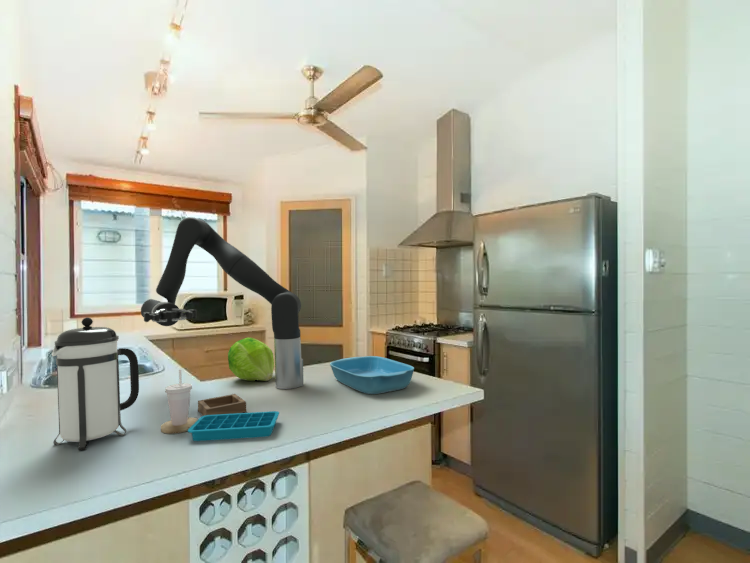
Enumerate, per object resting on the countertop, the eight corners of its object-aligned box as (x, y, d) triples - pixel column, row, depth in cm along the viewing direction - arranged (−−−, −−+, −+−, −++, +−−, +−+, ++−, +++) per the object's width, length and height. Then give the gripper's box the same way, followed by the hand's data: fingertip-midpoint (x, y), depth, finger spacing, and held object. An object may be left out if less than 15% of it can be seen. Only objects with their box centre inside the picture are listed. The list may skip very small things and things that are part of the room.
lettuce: (242, 392, 144) (269, 356, 145) (209, 359, 152) (234, 325, 154) (268, 395, 159) (292, 362, 161) (237, 365, 168) (260, 334, 169)
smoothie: (182, 428, 103) (181, 372, 103) (160, 426, 105) (158, 372, 104) (198, 419, 110) (196, 367, 109) (177, 418, 111) (175, 367, 111)
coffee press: (121, 446, 95) (116, 318, 95) (39, 456, 91) (34, 322, 91) (140, 421, 112) (137, 312, 112) (72, 429, 108) (68, 315, 107)
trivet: (198, 418, 113) (198, 415, 113) (199, 429, 105) (199, 425, 105) (161, 424, 109) (161, 421, 109) (160, 436, 101) (160, 432, 101)
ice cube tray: (202, 426, 108) (202, 415, 108) (280, 421, 110) (279, 410, 110) (186, 444, 96) (186, 431, 96) (273, 438, 98) (273, 426, 98)
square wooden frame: (198, 410, 120) (197, 400, 120) (235, 403, 126) (234, 393, 126) (207, 420, 111) (206, 409, 111) (246, 412, 118) (246, 401, 118)
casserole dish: (322, 378, 157) (321, 359, 157) (372, 370, 168) (372, 352, 168) (367, 402, 125) (366, 379, 125) (426, 390, 136) (426, 369, 135)
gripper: (139, 303, 128) (146, 305, 115) (188, 300, 136) (200, 302, 123) (140, 327, 128) (147, 331, 115) (189, 323, 137) (200, 327, 123)
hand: (174, 316), depth 119 cm, fingers open, 8 cm apart
